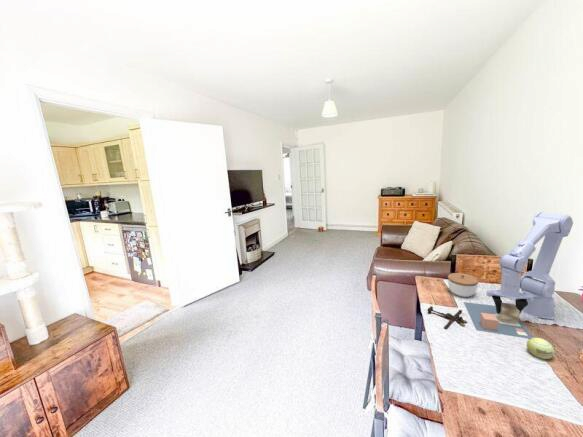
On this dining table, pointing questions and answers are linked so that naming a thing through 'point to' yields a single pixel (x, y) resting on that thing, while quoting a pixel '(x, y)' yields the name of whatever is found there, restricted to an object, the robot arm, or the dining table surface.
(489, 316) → the terracotta block
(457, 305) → the dining table surface
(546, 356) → the tennis ball
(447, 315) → the bear figurine
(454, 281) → the lidded bowl
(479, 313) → the board
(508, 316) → the maple block
